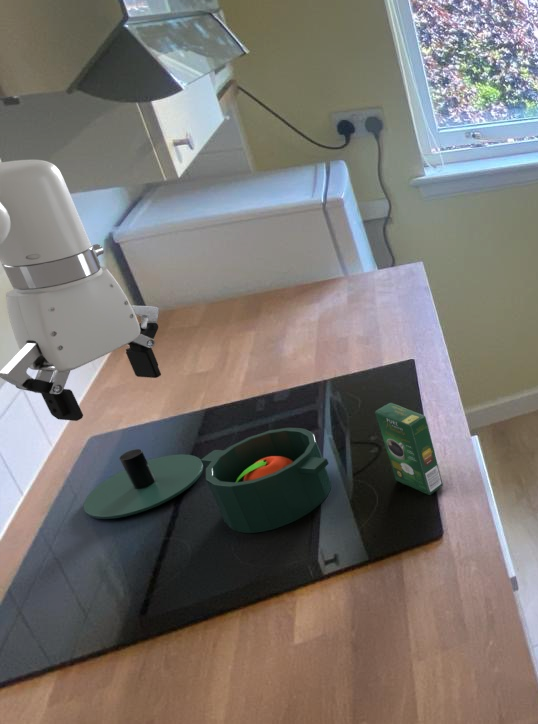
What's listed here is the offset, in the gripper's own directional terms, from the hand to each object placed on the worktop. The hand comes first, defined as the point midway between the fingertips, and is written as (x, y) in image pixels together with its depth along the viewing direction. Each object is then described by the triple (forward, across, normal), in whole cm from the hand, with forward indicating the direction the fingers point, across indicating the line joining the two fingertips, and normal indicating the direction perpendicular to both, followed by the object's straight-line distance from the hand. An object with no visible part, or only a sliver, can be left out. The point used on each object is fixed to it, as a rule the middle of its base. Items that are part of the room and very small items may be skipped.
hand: (111, 396), depth 91 cm
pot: (+25, -11, +6) cm, 28 cm away
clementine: (+24, -10, +5) cm, 27 cm away
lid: (+24, -11, -17) cm, 32 cm away
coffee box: (+25, -17, +24) cm, 39 cm away
